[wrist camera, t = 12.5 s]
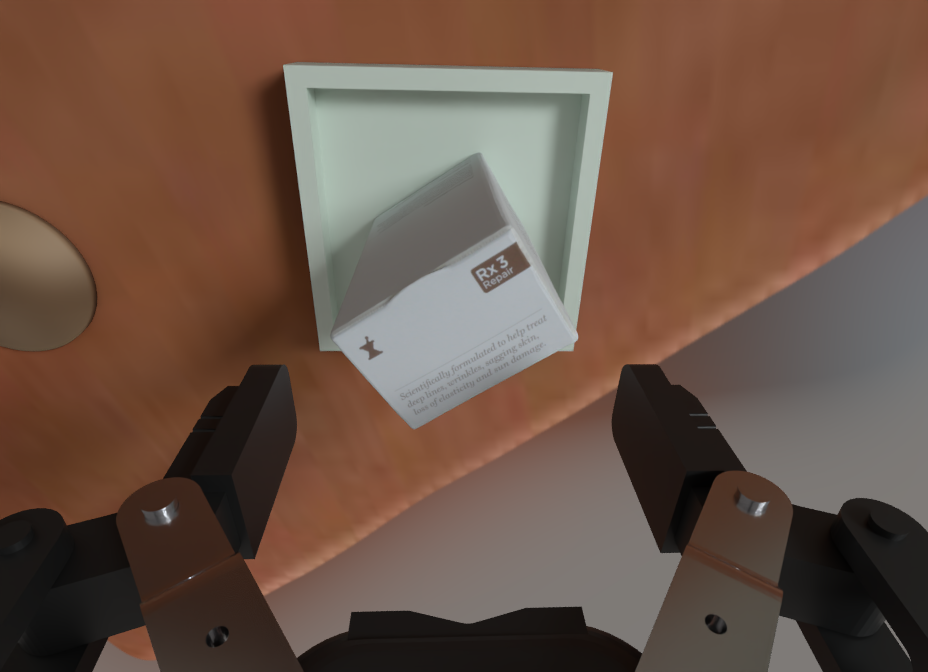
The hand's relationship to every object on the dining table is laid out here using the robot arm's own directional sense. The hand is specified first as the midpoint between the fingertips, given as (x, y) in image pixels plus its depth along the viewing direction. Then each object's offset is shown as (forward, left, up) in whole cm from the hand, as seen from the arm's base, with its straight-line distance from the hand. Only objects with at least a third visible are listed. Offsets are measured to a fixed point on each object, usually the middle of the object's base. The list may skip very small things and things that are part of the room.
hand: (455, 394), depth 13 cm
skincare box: (0, 0, -15) cm, 15 cm away
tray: (0, 0, -15) cm, 15 cm away
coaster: (+4, -22, -15) cm, 27 cm away
